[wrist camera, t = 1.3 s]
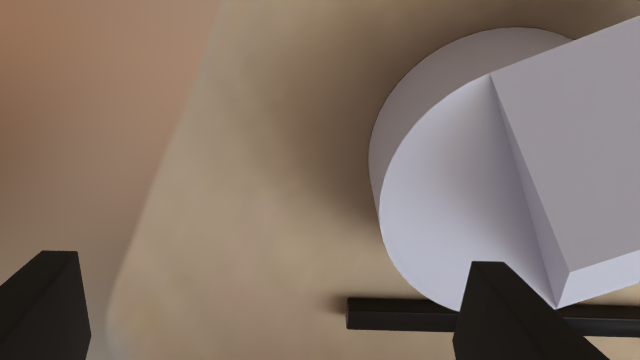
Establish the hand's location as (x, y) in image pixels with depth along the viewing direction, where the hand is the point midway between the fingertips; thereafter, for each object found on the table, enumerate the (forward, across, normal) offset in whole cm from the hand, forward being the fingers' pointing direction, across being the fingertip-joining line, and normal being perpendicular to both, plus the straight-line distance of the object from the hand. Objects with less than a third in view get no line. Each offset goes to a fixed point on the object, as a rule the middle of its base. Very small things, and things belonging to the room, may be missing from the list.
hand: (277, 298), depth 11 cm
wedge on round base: (+10, -9, +1) cm, 14 cm away
